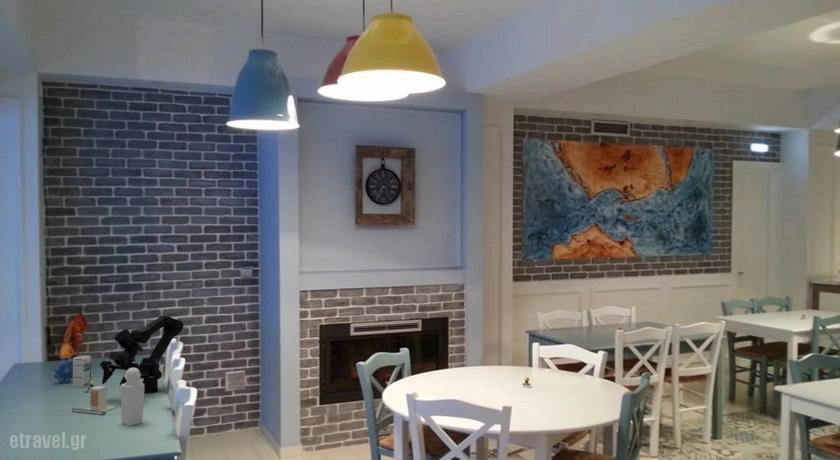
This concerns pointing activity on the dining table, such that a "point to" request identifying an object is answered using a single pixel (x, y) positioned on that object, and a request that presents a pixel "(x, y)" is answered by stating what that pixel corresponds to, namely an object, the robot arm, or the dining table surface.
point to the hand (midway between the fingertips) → (111, 384)
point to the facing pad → (105, 408)
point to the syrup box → (81, 371)
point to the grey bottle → (132, 398)
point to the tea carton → (98, 398)
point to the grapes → (64, 371)
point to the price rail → (89, 411)
